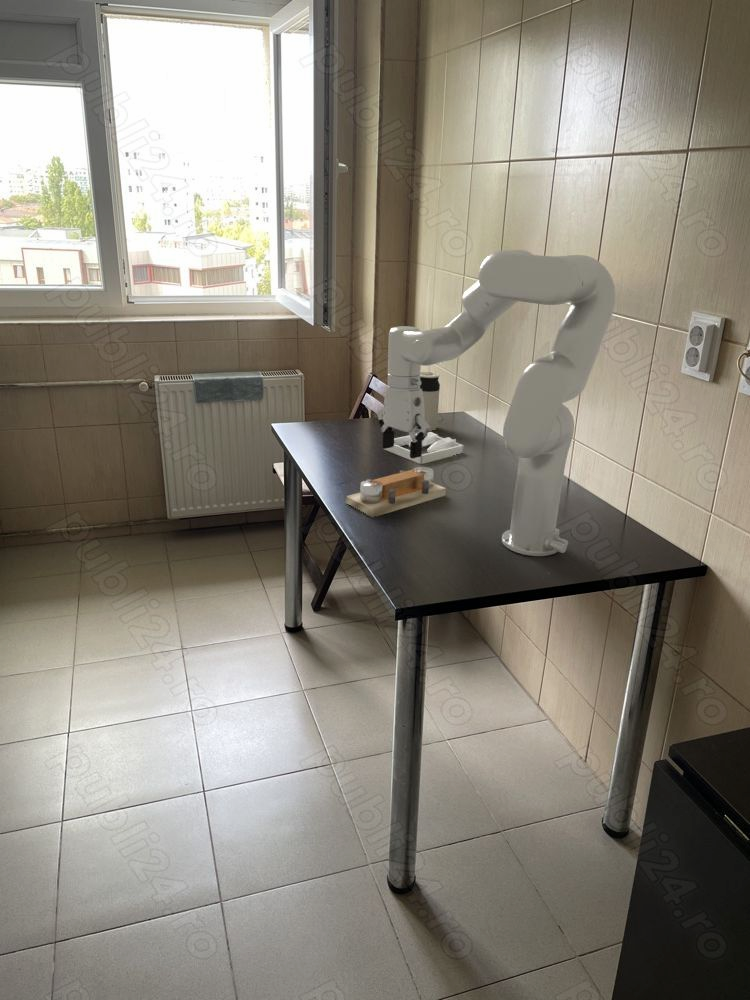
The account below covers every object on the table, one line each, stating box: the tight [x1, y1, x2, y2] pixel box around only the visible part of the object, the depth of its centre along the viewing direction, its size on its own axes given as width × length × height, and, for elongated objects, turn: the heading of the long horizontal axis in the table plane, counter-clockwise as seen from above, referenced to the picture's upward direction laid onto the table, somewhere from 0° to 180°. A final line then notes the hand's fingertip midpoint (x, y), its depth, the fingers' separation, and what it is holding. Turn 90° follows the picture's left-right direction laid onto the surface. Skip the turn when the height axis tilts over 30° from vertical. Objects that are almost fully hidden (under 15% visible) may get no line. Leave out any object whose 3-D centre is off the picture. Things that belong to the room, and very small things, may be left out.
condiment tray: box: [382, 433, 465, 465], centre depth 216 cm, size 16×17×2 cm
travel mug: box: [420, 370, 441, 432], centre depth 235 cm, size 8×8×18 cm
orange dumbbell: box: [359, 466, 435, 504], centre depth 179 cm, size 5×22×4 cm, turn 131°
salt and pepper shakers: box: [408, 431, 457, 453], centre depth 218 cm, size 12×4×11 cm
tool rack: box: [345, 470, 447, 518], centre depth 179 cm, size 10×24×5 cm, turn 130°
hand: (401, 452), depth 175 cm, fingers open, 9 cm apart
